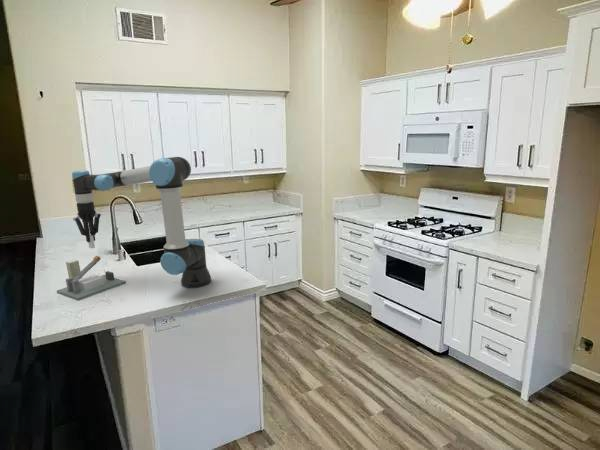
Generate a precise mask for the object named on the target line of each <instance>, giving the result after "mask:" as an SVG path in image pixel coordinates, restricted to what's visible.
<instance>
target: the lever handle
mask: <svg viewBox="0 0 600 450" xmlns="http://www.w3.org/2000/svg"><path fill="white" fill-rule="evenodd" d="M101 259H102V258H101V257H100V256H99V255H95V256H93V260H92V261H91V262H89V263H88V264H87V265H86V266H85V267H84V268H83V269H82V270H80V271H81V272H80V273H79V274H78V275H77V276H76V277H75V278H73V279H72V281H73V280H79V279H80V278H84V276H85V275H86V274H87V273H88V272H89V271H90V270H91V269H92V268H93V267H94V266H96V264H97V263H99V261H101Z"/></svg>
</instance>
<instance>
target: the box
mask: <svg viewBox="0 0 600 450" xmlns="http://www.w3.org/2000/svg"><path fill="white" fill-rule="evenodd" d="M65 264H66V265H65V266H66V269H67V274H68V278H72V279H73V278H75V277H76V276H77V275H78V274H79V273H80V272H81V271H82V270H81V267H80V262H79V259H71V260H67V261H65ZM80 279H81V278H80Z"/></svg>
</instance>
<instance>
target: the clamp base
mask: <svg viewBox="0 0 600 450" xmlns="http://www.w3.org/2000/svg"><path fill="white" fill-rule="evenodd" d="M114 275H115V274H114V272H112V271H108V270H107V271H105V272H104V274H103V275H96V274H91V275H87V276H85V277H84V276H83V277H82V278H81V279H79V280H73V281H72V278H69V277H68V278H65V281H66V282H65V283H66V287H63V288H60V289H58V290H56V293H57V294H59V295H62V296H65V297H68V298H70V299H73V300H76V301H81V300H84V299H87V298H89V297H90V298H91V297H92V296H94V295H98V294H100V293H103V292H106V291H108V290H111V289H114V288H117V287H120V286H122V285H125V284H126V283H127V281H126V280H123V279H120V278H116V277H115V276H114Z"/></svg>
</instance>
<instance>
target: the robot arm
mask: <svg viewBox="0 0 600 450" xmlns="http://www.w3.org/2000/svg"><path fill="white" fill-rule="evenodd" d="M191 173H192V167H191V164H190V162H189V161H188V160H187V159H186V158H184V157H182V156H172V157H163V158H162V157H161V158H158V159H156V160H154V161H153V162H152V163H151V164H150V165H148V166H143V167H138V168H132V169H126V170H121V171H115V172H108V173H101V174H91V173H90V171H89V170H86V169H83V170H81V169H80V170H73V172H72V173H71V177H72V178H71V179H72V183H73V190H74V196H75V202H76V209H77V215H76V216H75V217H73V219H72V220H73V221H75V223H76V226H77V228H78V230H79V233H80V234H81V236H85V241H86V242H87V243H88V248H89V249H94V248H96V246H95V242H96V237H95V236H96V234H97V233H99V228H100V227H99V226H100V225H99V224H100V218H101V213H98V212H96V209H95V203H94V197H93V196H94V195H93V191H102V192H103V191H104V192H105V191H110V190H111V189H115V188H119V187H126V186H131V185H137V184H144V183H149V182H152V183H153V185H155V188H156V190H157V191H158V192H159V193H160V201H161V202H160V203H161V208H162V216H163V224H164V233H165V239H166V241H165V242H166V243H165V244H164V245H163V251H164V252H163V254H162V255H161V257H160V260H159V262H160V265H161V268H162V269H163V271H165V272H166V273H167V274H169V275H172V276H178V275H180V274H182V275H181V279H180V285H181V286H182V287H184V288H191V289H192V288H193V289H194V288H200V287H204V286H206V285H209V284H210V283H211V282H212V277H211V274H210V272H209V270H208V267H207V259H206V249H205V248H206V246H205V241H204V240H203V239H201V238H186V233H185V225H184V224H185V223H184V216H183V208H182V198H181V190H182V188H183V187H184V185H183V181H186V180H187V179H188V178H189V177H190V176H191Z"/></svg>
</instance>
